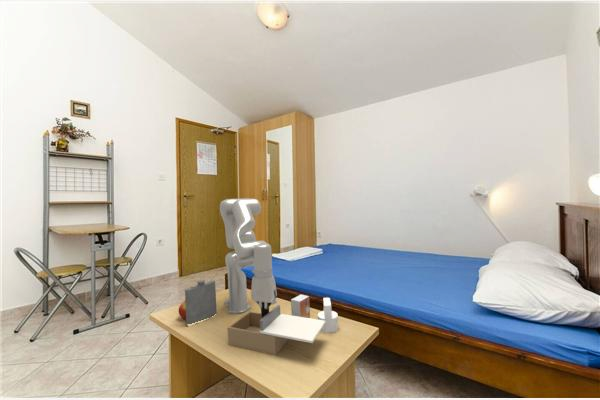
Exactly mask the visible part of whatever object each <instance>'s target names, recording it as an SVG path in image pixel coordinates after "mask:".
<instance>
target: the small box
mask: <svg viewBox="0 0 600 400" xmlns="http://www.w3.org/2000/svg"><path fill="white" fill-rule="evenodd" d="M290 305H291V306H290V309H291V310H290V311H291V312H290V313H291V315H292V316H298V317H305V318H311V313H310V312H311V311H310V309H311V308H310V296H309V295H305V294H301V293H300V294H299V295H297V296H295V297H293V298H291V299H290Z"/></svg>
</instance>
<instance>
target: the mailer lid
mask: <svg viewBox="0 0 600 400" xmlns="http://www.w3.org/2000/svg"><path fill="white" fill-rule="evenodd" d="M325 323H326V321H324V320H318V318H317V319H316V318H312V317H310V318H305V317H298V316H292V314H286V313H285V314H284V313H281V305H280V304H277V305H276V306H275V307H273V308H272V309H271V310H269V313H268V314H267V315H265V316H264V317H263V318H262V319H261V320H260V333H262V334H267V335H272V336H278V337H283V338H288V340H293V341H298V342H304V343H308V344H309V343H310V344H313V343H314V342H315V340H316V339H317V337H318V336H319V334H320V332H321V329H322V328H323V326H324V325H325Z"/></svg>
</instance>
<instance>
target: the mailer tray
mask: <svg viewBox="0 0 600 400" xmlns="http://www.w3.org/2000/svg"><path fill="white" fill-rule="evenodd" d="M261 319H262V315H261V312H255V311H252V310H251V311H247V313H246V314H244V315H243V316H241V317H240V318H239V319H237V320H236V321H234V322H233V323H232V324H230V325H229V326H228V327H227V339H228V345H230V346H233V347H238V348H243V349H247V350H252V351H257V352H260V353H265V354H270V355H277V354H278V353H279V351H280V350H281V349H282V348H283V346H284V345H285V344H286V343H287V341H289V339H288V338H283V337H278V336H272V335H267V334H262V333H260V320H261Z"/></svg>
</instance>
